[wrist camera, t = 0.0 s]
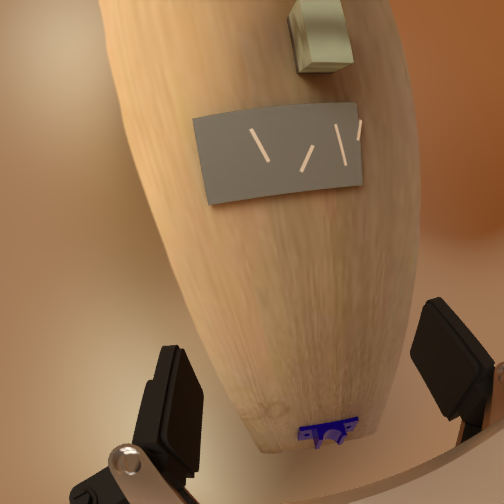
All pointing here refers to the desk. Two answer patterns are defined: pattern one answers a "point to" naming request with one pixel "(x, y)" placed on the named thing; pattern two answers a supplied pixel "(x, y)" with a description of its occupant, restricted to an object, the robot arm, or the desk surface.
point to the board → (279, 150)
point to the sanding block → (319, 36)
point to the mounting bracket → (327, 431)
